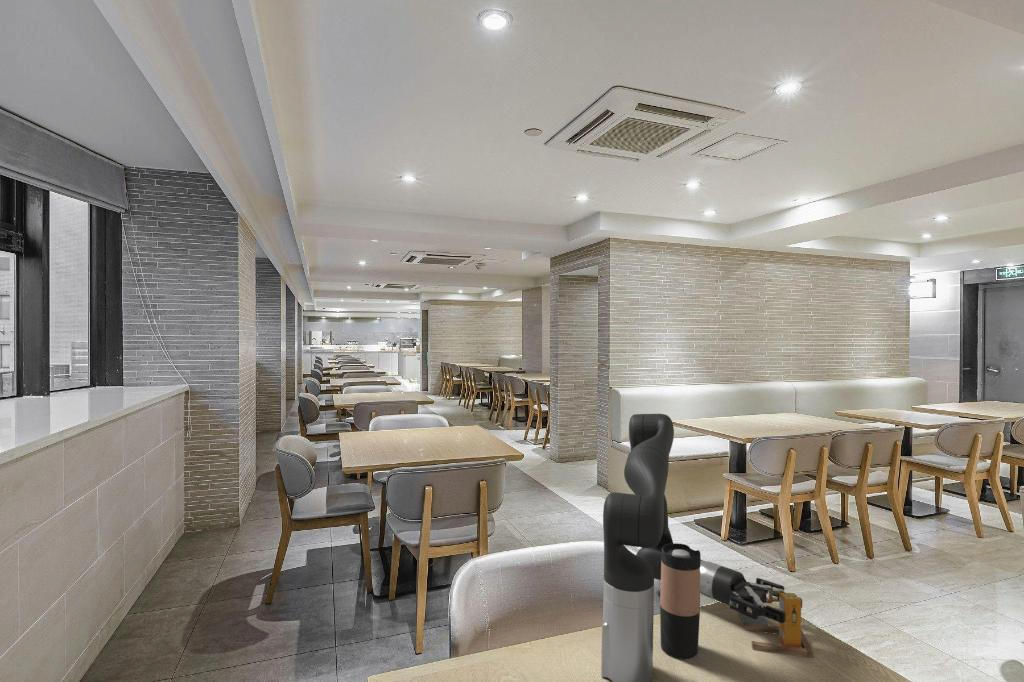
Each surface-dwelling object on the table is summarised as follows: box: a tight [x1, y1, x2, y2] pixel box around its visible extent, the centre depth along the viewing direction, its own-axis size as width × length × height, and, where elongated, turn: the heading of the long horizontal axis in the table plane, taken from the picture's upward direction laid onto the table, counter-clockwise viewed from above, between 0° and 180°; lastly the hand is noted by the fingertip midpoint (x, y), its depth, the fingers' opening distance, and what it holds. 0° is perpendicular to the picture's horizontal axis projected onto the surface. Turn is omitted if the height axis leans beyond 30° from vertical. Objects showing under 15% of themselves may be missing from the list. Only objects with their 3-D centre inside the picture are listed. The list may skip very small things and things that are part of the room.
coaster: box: [739, 613, 770, 626], centre depth 119 cm, size 5×5×1 cm
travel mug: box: [659, 542, 702, 660], centre depth 108 cm, size 8×8×20 cm
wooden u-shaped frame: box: [744, 622, 815, 659], centre depth 111 cm, size 11×8×1 cm
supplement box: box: [778, 592, 802, 648], centre depth 110 cm, size 3×3×10 cm
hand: (793, 611), depth 110 cm, fingers open, 8 cm apart
